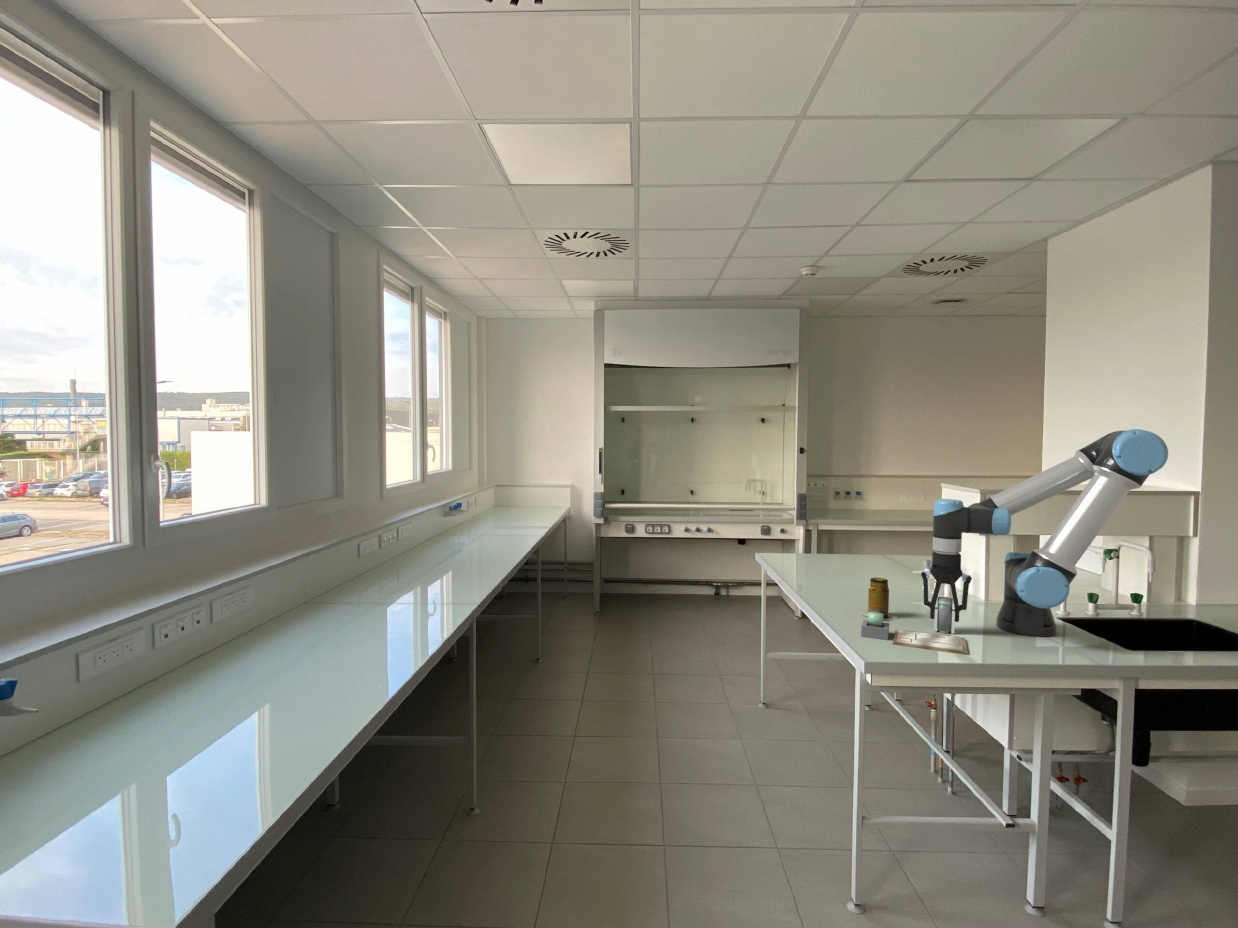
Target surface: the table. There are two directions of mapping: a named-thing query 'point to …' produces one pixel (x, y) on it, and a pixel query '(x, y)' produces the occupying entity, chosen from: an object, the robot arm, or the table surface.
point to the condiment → (879, 597)
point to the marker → (944, 614)
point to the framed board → (930, 641)
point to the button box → (875, 630)
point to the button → (875, 618)
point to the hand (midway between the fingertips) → (943, 630)
